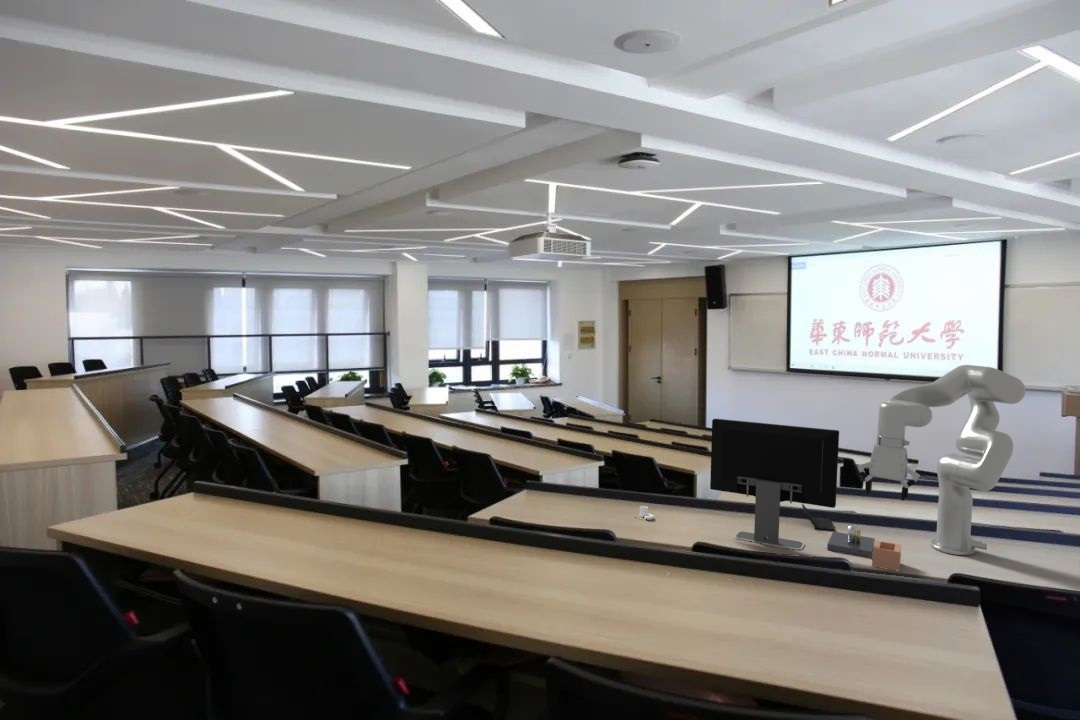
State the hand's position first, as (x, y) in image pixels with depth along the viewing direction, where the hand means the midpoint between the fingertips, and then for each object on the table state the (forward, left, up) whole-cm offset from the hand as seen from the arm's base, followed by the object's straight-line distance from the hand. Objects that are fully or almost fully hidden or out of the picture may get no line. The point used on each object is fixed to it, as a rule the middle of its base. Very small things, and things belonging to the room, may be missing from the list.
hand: (885, 496), depth 207 cm
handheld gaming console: (+23, -26, -22) cm, 41 cm away
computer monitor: (+35, 0, -21) cm, 41 cm away
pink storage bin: (-1, +3, -21) cm, 21 cm away
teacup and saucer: (+81, +2, -22) cm, 84 cm away
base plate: (+10, -8, -21) cm, 25 cm away
